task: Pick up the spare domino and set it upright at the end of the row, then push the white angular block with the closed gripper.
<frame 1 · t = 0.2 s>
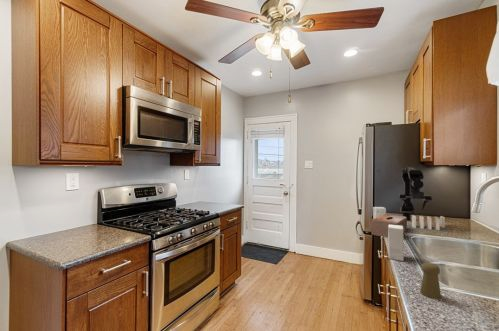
hand: (414, 209, 168), 14 cm above the countertop, tool pointing down, fingers open, 9 cm apart
small box: (379, 220, 195), on the countertop
tissue box cover: (389, 233, 161), on the countertop
spare domino: (442, 227, 173), on the countertop
skincare box: (395, 257, 119), on the countertop
domino 2: (421, 227, 170), point 1 cm above the countertop, touching rubber mat
rubber mat: (425, 229, 169), on the countertop
cork: (430, 294, 85), on the countertop
domino 3: (429, 228, 168), point 1 cm above the countertop, touching rubber mat
white angular block 1: (413, 226, 172), point 1 cm above the countertop, touching rubber mat
domino 4: (437, 229, 166), point 1 cm above the countertop, touching rubber mat
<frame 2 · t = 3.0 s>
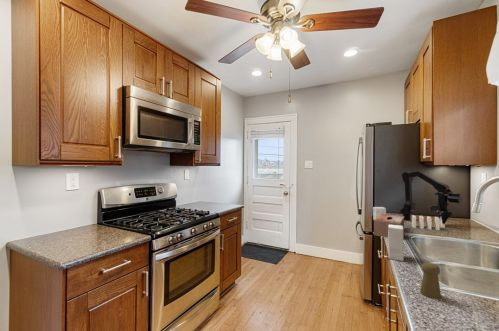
hand: (442, 222, 173), 4 cm above the countertop, tool pointing down, fingers closed on spare domino, 5 cm apart
spare domino: (442, 227, 173), on the countertop, touching gripper
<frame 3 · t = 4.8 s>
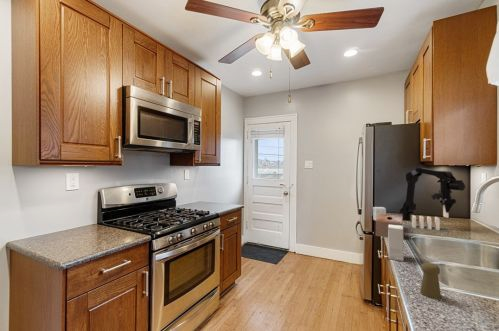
hand: (445, 211, 164), 13 cm above the countertop, tool pointing down, fingers closed on spare domino, 5 cm apart
spare domino: (445, 216, 164), point 10 cm above the countertop, touching gripper
when the fingers open (5 cm above the countertop, at t = 6.7 s): spare domino stays where it is, resting on rubber mat.
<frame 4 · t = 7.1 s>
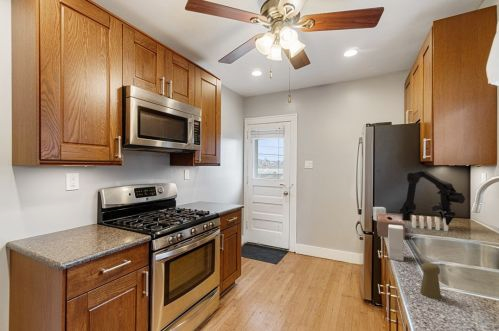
hand: (445, 223, 164), 5 cm above the countertop, tool pointing down, fingers open, 9 cm apart
spare domino: (445, 230, 164), point 1 cm above the countertop, touching rubber mat
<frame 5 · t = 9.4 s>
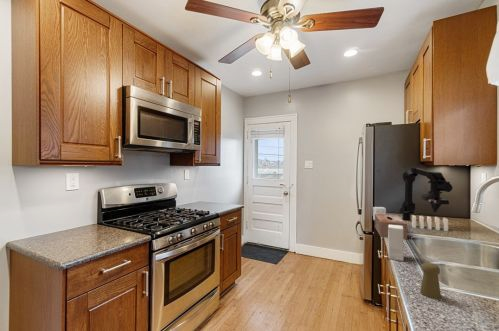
hand: (434, 212, 166), 13 cm above the countertop, tool pointing down, fingers closed
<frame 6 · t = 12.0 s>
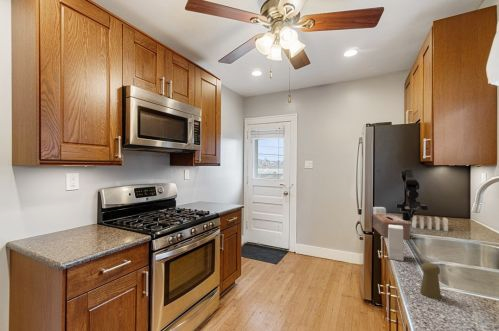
hand: (411, 218, 172), 7 cm above the countertop, tool pointing down, fingers closed
white angular block 1: (413, 226, 172), point 1 cm above the countertop, touching gripper, rubber mat
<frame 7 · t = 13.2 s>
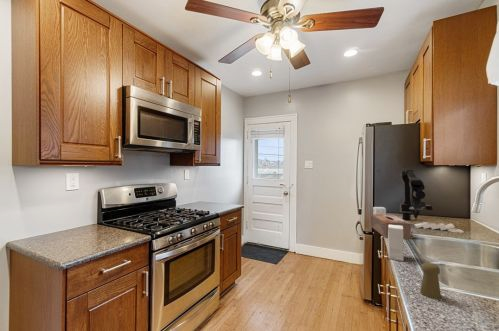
hand: (415, 218, 171), 7 cm above the countertop, tool pointing down, fingers closed
spare domino: (447, 228, 163), point 2 cm above the countertop, tilted 97°, touching domino 4, rubber mat
domino 2: (422, 226, 169), point 2 cm above the countertop, tilted 70°, touching white angular block 1, domino 3, rubber mat
domino 3: (430, 227, 167), point 2 cm above the countertop, tilted 70°, touching domino 2, rubber mat
white angular block 1: (415, 226, 171), point 2 cm above the countertop, tilted 69°, touching domino 2, rubber mat
domino 4: (439, 228, 165), point 2 cm above the countertop, tilted 68°, touching rubber mat, spare domino
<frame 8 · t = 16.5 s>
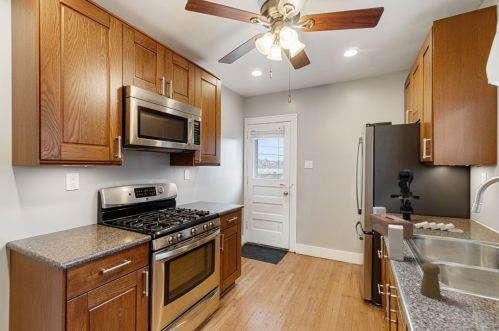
hand: (404, 207, 181), 13 cm above the countertop, tool pointing down, fingers closed
domino 3: (430, 227, 167), point 2 cm above the countertop, tilted 70°, touching domino 2, domino 4, rubber mat
domino 4: (439, 228, 165), point 2 cm above the countertop, tilted 68°, touching domino 3, rubber mat, spare domino
at the end: spare domino inside the target area (1.3 cm from its centre), point 1.7 cm above the countertop; spare domino tilted 97°; white angular block 1 tilted 69° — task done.
